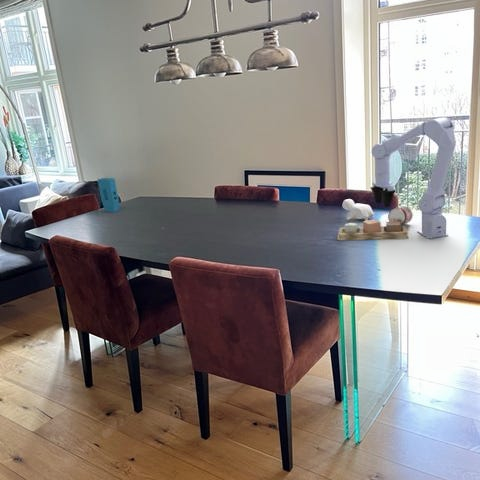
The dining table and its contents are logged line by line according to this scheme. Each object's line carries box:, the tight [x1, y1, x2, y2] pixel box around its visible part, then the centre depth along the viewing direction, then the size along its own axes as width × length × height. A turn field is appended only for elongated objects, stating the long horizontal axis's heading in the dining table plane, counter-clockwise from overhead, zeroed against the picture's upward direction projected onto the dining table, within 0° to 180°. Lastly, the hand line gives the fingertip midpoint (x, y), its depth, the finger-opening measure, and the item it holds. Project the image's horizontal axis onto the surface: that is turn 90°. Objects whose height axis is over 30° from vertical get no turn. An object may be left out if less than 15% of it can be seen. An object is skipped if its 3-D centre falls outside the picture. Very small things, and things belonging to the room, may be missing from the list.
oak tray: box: [337, 225, 409, 241], centre depth 190 cm, size 27×10×2 cm, turn 76°
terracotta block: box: [362, 218, 382, 233], centre depth 189 cm, size 5×5×5 cm
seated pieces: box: [344, 221, 401, 233], centre depth 189 cm, size 21×5×4 cm, turn 76°
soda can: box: [387, 206, 414, 226], centre depth 195 cm, size 7×7×12 cm
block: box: [97, 177, 120, 213], centre depth 290 cm, size 12×5×20 cm, turn 51°
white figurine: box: [342, 198, 375, 221], centre depth 215 cm, size 9×8×15 cm
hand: (382, 204), depth 197 cm, fingers open, 7 cm apart
